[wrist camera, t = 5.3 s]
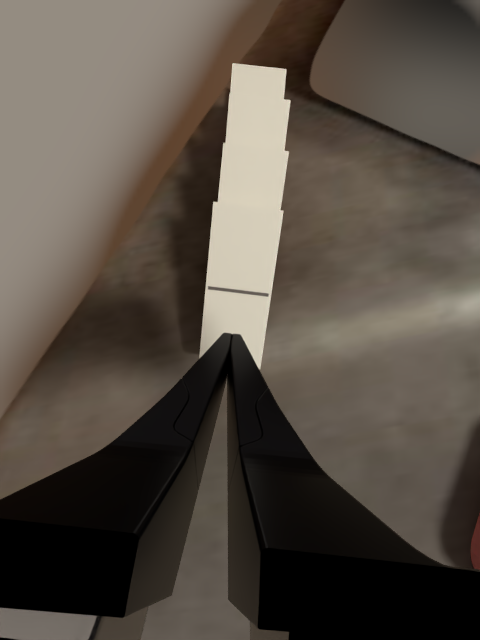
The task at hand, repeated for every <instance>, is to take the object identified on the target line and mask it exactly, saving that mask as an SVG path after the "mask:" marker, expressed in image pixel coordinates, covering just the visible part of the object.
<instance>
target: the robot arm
mask: <svg viewBox="0 0 480 640" xmlns="http://www.w3.org/2000/svg"><path fill="white" fill-rule="evenodd" d="M227 374H228V375H227ZM226 380H227V450H228V600H229V601H230V602H231V603H232V604H233V605H234V606H235V607H236V608H237V609H238V610H239V611H240V612H241V613H242V614H243V615H244V616H245V617H247V618H248V619H249V620H250V640H480V570H478V569H471V568H460V567H450V566H447V565H443V564H441V563H439V562H437V561H435V560H433V559H431V558H429V557H428V556H426V555H424V554H423V553H421V552H420V551H418V550H417V549H415V548H414V547H413V546H411V545H410V544H409V543H408V542H406V541H405V540H404V539H402V538H401V537H400V536H399V535H398V534H396V533H395V532H394V531H393V530H392V529H391V528H389V527H388V526H387V525H386V524H385V523H383V522H382V521H381V520H380V519H379V518H378V517H376V516H375V515H374V514H373V513H372V512H370V511H369V510H368V509H367V508H366V507H365V506H363V505H362V504H361V503H360V502H359V501H357V500H356V499H355V498H354V497H353V496H352V495H350V494H349V493H348V492H347V491H346V490H344V489H343V488H342V487H341V486H340V485H339V484H337V483H336V482H335V481H334V480H333V479H331V478H330V477H329V476H328V475H327V474H326V473H325V472H324V471H323V470H322V468H321V467H320V466H319V465H318V464H317V462H316V461H315V460H314V459H313V457H312V456H311V454H310V453H309V451H308V450H307V448H306V447H305V445H304V444H303V442H302V441H301V439H300V438H299V437H298V435H297V434H296V432H295V431H294V429H293V428H292V426H291V425H290V423H289V422H288V420H287V419H286V417H285V415H284V414H283V412H282V411H281V409H280V408H279V406H278V404H277V402H276V401H275V399H274V397H273V395H272V393H271V391H270V389H269V388H268V386H267V384H266V382H265V380H264V378H263V376H262V374H261V372H260V370H259V368H258V367H257V365H256V363H255V361H254V359H253V357H252V355H251V353H250V351H249V349H248V347H247V345H246V343H245V342H244V340H243V338H242V336H241V335H240V334H231V333H223V334H222V335H221V336H220V337H219V338H218V339H217V340H216V341H215V342H214V343H213V345H212V346H211V347H210V348H209V349H208V350H207V351H206V352H205V353H204V354H203V355H202V357H201V358H200V359H199V360H198V361H197V362H196V363H195V364H194V365H193V366H192V367H191V369H190V370H189V371H188V372H187V373H186V374H185V375H184V376H183V377H182V379H180V380H179V381H178V383H177V384H176V385H175V386H174V387H173V388H172V389H171V390H170V391H169V392H168V393H167V394H166V395H165V396H164V397H163V398H162V399H161V400H160V401H159V402H157V403H156V404H155V405H154V406H153V407H152V408H151V409H150V410H149V411H147V412H146V413H145V414H144V415H143V416H142V417H141V418H139V419H138V420H137V421H136V422H135V423H134V424H133V425H132V426H130V427H129V428H128V429H127V430H126V431H125V432H124V433H122V434H121V435H120V436H119V437H118V438H117V439H115V440H114V441H113V442H111V443H110V444H109V445H107V446H106V447H104V448H103V449H101V450H100V451H98V452H96V453H95V454H93V455H91V456H89V457H87V458H85V459H83V460H81V461H79V462H77V463H74V464H72V465H70V466H68V467H66V468H64V469H62V470H60V471H58V472H56V473H54V474H52V475H50V476H48V477H46V478H44V479H42V480H40V481H37V482H35V483H33V484H31V485H29V486H27V487H25V488H23V489H21V490H19V491H17V492H15V493H13V494H11V495H9V496H7V497H5V498H3V499H0V640H141V635H142V631H143V627H144V623H145V619H146V615H147V611H148V607H149V606H150V605H152V604H154V603H156V602H158V601H161V600H163V599H165V598H167V597H169V596H171V595H172V592H173V588H174V584H175V580H176V576H177V573H178V569H179V565H180V561H181V557H182V553H183V549H184V545H185V541H186V537H187V533H188V529H189V525H190V521H191V518H192V514H193V510H194V506H195V502H196V498H197V494H198V490H199V486H200V482H201V478H202V474H203V470H204V466H205V462H206V459H207V455H208V451H209V447H210V443H211V439H212V435H213V431H214V427H215V423H216V419H217V415H218V411H219V407H220V404H221V400H222V396H223V392H224V388H225V384H226Z"/></svg>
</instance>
